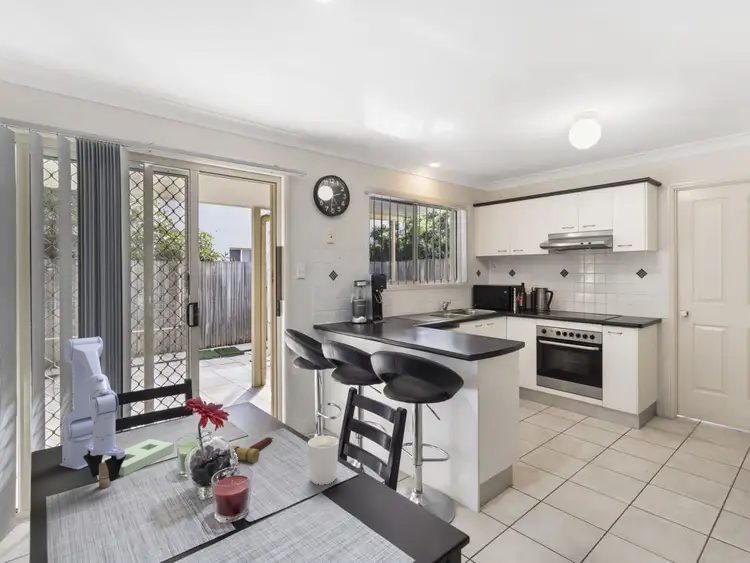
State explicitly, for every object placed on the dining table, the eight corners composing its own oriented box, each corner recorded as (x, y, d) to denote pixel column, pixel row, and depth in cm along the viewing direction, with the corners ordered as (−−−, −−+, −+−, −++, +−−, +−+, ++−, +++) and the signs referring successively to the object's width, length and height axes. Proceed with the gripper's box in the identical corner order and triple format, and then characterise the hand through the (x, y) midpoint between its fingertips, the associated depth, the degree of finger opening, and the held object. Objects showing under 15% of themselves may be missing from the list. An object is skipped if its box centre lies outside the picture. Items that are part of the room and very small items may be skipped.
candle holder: (317, 489, 125) (317, 450, 125) (302, 476, 133) (302, 440, 133) (344, 480, 131) (344, 442, 131) (329, 468, 139) (329, 433, 139)
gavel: (261, 430, 165) (283, 433, 162) (261, 442, 165) (283, 445, 162) (228, 448, 145) (252, 451, 142) (227, 461, 145) (252, 465, 142)
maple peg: (96, 487, 126) (96, 465, 126) (106, 482, 129) (106, 460, 129) (103, 489, 125) (103, 466, 125) (113, 484, 128) (113, 462, 128)
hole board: (98, 470, 137) (98, 461, 137) (149, 446, 156) (149, 438, 156) (124, 476, 133) (124, 467, 133) (173, 451, 152) (173, 443, 152)
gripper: (75, 435, 126) (75, 479, 126) (108, 442, 121) (109, 488, 121) (97, 427, 132) (98, 469, 132) (130, 433, 127) (131, 477, 127)
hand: (104, 477), depth 127 cm, fingers open, 7 cm apart
